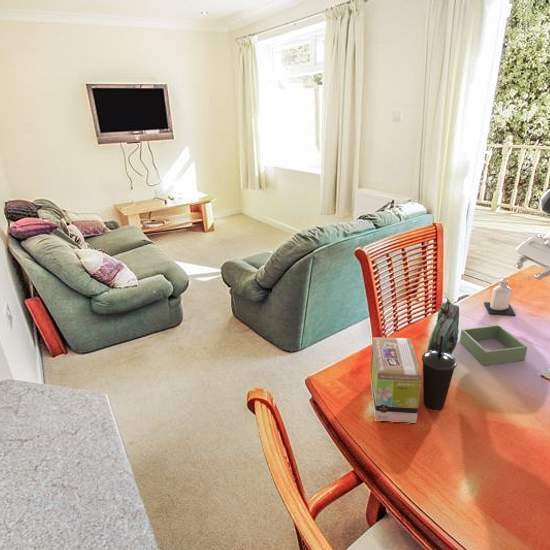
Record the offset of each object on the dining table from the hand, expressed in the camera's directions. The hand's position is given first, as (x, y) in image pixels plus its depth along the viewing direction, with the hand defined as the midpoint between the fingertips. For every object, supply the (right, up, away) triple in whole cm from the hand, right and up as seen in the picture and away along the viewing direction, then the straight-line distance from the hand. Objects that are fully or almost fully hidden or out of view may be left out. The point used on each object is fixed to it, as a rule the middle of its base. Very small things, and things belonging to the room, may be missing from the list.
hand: (526, 272), depth 127 cm
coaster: (-6, -13, +5) cm, 15 cm away
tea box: (-55, -33, -31) cm, 72 cm away
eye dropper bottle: (-6, -13, +5) cm, 15 cm away
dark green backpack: (-38, -27, -21) cm, 51 cm away
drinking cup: (-45, -33, -33) cm, 65 cm away
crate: (-21, -23, -15) cm, 35 cm away
